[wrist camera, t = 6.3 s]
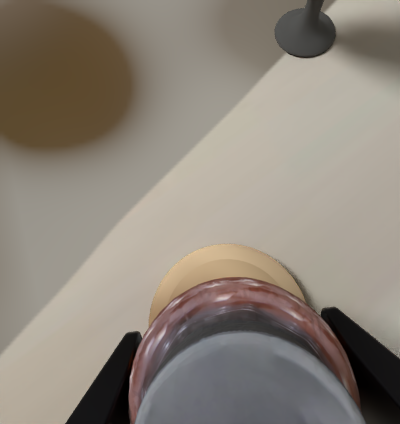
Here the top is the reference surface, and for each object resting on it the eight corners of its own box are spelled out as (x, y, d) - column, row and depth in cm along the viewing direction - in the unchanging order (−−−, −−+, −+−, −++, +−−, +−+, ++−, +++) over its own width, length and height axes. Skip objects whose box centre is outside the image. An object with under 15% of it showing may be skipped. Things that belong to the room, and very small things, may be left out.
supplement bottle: (228, 257, 16) (241, 203, 5) (309, 333, 15) (554, 475, 4) (156, 334, 15) (-4, 459, 4) (235, 422, 14) (279, 909, 3)
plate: (320, 403, 16) (327, 412, 15) (156, 415, 17) (151, 424, 16) (291, 238, 19) (296, 236, 18) (149, 253, 19) (145, 251, 18)
